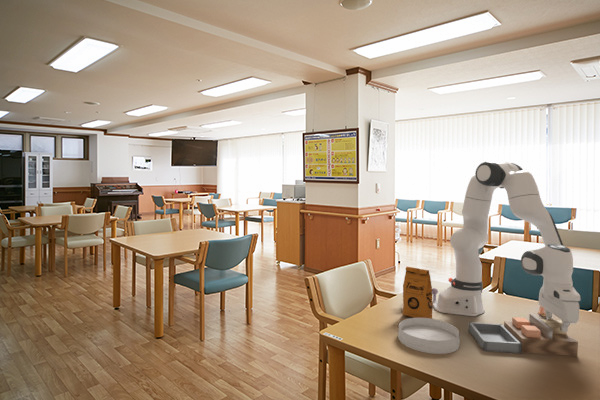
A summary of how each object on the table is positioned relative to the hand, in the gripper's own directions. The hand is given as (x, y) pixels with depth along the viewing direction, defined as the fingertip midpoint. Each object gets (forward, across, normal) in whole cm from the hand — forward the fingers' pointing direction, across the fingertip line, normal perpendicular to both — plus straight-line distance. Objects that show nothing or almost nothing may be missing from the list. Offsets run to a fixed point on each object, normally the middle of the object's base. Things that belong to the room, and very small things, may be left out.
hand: (556, 326), depth 136 cm
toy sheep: (+7, -40, -43) cm, 59 cm away
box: (+7, 0, -22) cm, 23 cm away
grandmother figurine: (+7, -33, +11) cm, 36 cm away
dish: (+7, +2, -46) cm, 47 cm away
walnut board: (+7, 0, -6) cm, 9 cm away
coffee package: (+7, -22, -46) cm, 51 cm away
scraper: (+2, 0, -2) cm, 3 cm away
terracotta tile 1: (+2, +4, -10) cm, 11 cm away
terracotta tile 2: (+2, -4, -10) cm, 11 cm away
